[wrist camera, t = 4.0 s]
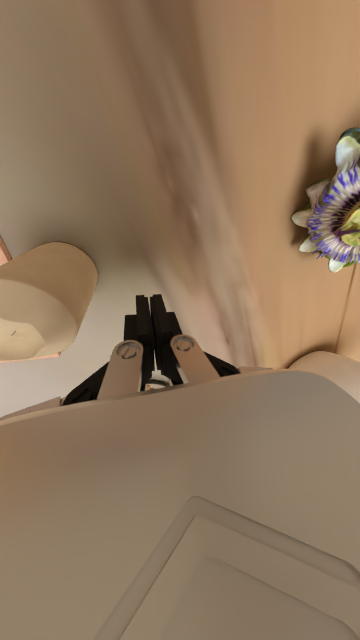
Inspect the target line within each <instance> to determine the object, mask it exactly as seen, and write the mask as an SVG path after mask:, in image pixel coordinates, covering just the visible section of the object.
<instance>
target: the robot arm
mask: <svg viewBox="0 0 360 640" xmlns="http://www.w3.org/2000/svg"><path fill="white" fill-rule="evenodd" d="M150 310H151V316H150ZM136 312H137V314H136V315H125V326H124V341H123V342H121V343H119V344H118V345H117V346H115V348H114V350H113V352H112V355H111V358H110V361H109V362H108V363H106V364H105V365H104V366H103V367H101V368H100V369H99V370H98V371H96V372H95V373H94V374H92V375H91V376H90V377H89V378H87V379H86V380H85V381H84V382H82V383H81V384H80V385H78V386H77V387H76V388H75V389H73V390H72V391H71V392H70V393H69V394H68V395H67V397H64V398H61V397H57V398H54V399H51V400H48V401H45V402H43V403H40V404H37V405H34V406H31V407H28V408H25V409H23V410H20V411H17V412H14V413H11V414H8V415H5V416H3V417H1V418H0V640H360V403H359V402H358V401H356V400H355V399H354V398H353V397H352V396H350V395H349V394H348V393H347V392H346V391H344V390H343V389H342V388H340V387H339V386H338V385H337V384H335V383H334V382H332V381H331V380H329V379H328V378H326V377H324V376H321V375H319V374H316V373H312V372H308V371H303V370H297V369H273V368H261V367H242V366H239V367H238V368H235V367H234V366H233V365H231V364H229V363H227V362H225V361H223V360H221V359H218V358H216V357H214V356H212V355H210V354H208V353H206V352H204V351H202V349H201V348H200V346H199V345H198V343H197V342H196V340H195V339H194V338H192V337H191V336H188V335H183V334H182V331H181V329H180V326H179V323H178V321H177V318H176V315H175V313H174V312H166V309H165V305H164V302H163V299H162V296H161V294H157V295H153V297H150V309H149V303H148V297H144V295H136ZM154 351H155V358H156V365H157V370H161V375H164V376H166V377H168V378H169V383H170V386H168V387H163V388H157V389H152V390H146V387H147V386H146V383H147V382H148V380H149V379H150V378H151V377H152V371H155V366H154Z"/></svg>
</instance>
